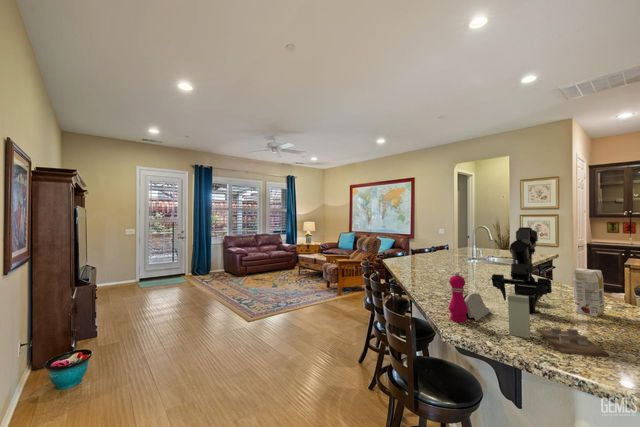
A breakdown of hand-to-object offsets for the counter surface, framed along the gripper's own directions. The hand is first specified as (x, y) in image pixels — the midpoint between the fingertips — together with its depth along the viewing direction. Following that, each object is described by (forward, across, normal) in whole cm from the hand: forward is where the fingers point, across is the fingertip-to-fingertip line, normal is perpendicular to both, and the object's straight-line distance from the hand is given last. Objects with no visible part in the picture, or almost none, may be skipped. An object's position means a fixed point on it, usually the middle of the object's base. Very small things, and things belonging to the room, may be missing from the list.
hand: (519, 302), depth 106 cm
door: (+10, 0, +5) cm, 12 cm away
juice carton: (-21, +21, +36) cm, 47 cm away
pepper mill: (+8, -22, +8) cm, 24 cm away
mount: (+9, +13, +7) cm, 17 cm away
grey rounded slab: (-1, -18, +17) cm, 24 cm away
